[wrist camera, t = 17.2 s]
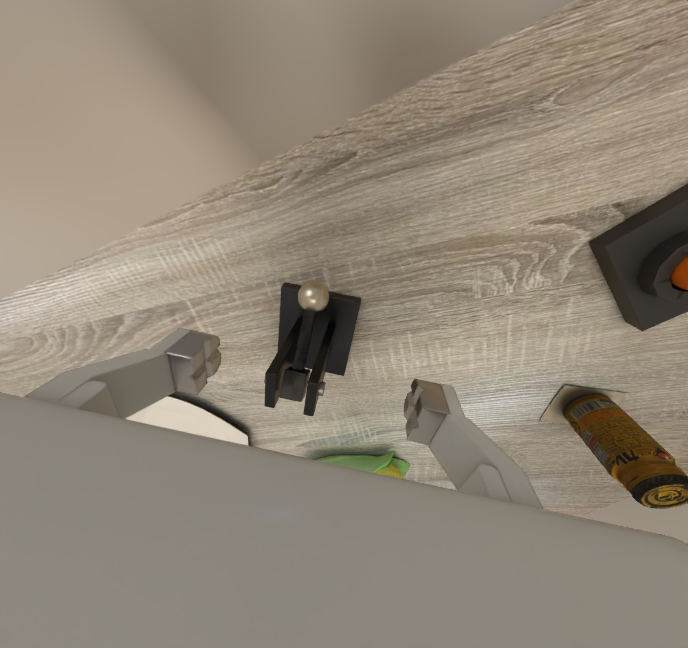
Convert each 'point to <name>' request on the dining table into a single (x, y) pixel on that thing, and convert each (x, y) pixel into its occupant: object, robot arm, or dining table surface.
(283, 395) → the switch lever
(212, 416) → the plate
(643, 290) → the dark grey button base
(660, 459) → the condiment
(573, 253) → the dining table surface
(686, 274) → the power button
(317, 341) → the ball handle lever stand
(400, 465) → the corn
